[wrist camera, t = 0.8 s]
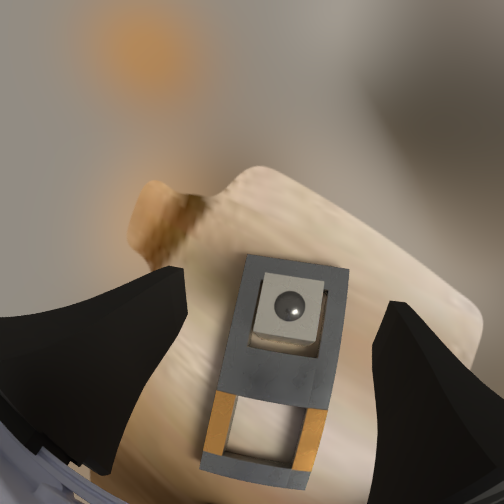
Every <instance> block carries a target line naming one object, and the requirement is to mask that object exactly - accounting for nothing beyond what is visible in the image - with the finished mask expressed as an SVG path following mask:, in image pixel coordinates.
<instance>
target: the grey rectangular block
mask: <svg viewBox="0 0 504 504" xmlns="http://www.w3.org/2000/svg"><path fill="white" fill-rule="evenodd" d="M323 289H324V281H319V280H312V279H305V278H298V277H292V276H285V275H279V274H272V273H266V272H265V276H264V281H263V285H262V290H261V295H260V300H259V305H258V310H257V314H256V319H255V324H254V329H253V332H254V333H255V334H256V335H258V336H259V337H260V338H261V339H262V340H268V341H273V342H279V343H285V344H291V345H297V346H304V347H308V346H310V345H311V344H313V343H314V342H315V341H316V335H317V329H318V323H319V317H320V310H321V303H322V296H323Z"/></svg>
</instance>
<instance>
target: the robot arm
mask: <svg viewBox="0 0 504 504" xmlns="http://www.w3.org/2000/svg"><path fill="white" fill-rule="evenodd" d="M187 315H188V310H187V301H186V291H185V281H184V269H183V268H178V267H173V266H166V267H163V268H161V269H158V270H156V271H153V272H151V273H149V274H146V275H144V276H142V277H140V278H138V279H135V280H133V281H131V282H129V283H127V284H124V285H122V286H120V287H117V288H115V289H113V290H110V291H108V292H105V293H103V294H101V295H98V296H96V297H93V298H91V299H88V300H85V301H82V302H79V303H76V304H73V305H70V306H66V307H63V308H59V309H54V310H50V311H46V312H42V313H36V314H31V315H23V316H15V317H0V504H84V503H82V502H80V501H78V500H76V499H75V498H74V493H75V494H77V495H78V496H80V497H81V498H83V499H84V500H86V501H87V502H89V503H90V504H129V503H127V502H125V501H123V500H121V499H119V498H117V497H115V496H114V495H112V494H110V493H108V492H107V491H105V490H103V489H102V488H100V487H98V486H97V485H95V484H93V483H92V482H90V481H89V480H87V479H85V478H84V477H83V476H81V475H80V474H78V473H77V472H75V471H74V470H73V469H71V468H70V467H68V466H67V465H68V464H69V462H70V461H71V462H73V463H74V464H76V465H77V466H78V467H80V466H81V465H82V464H84V465H85V466H87V467H88V468H90V469H91V470H93V471H94V472H96V473H98V474H99V475H101V476H104V475H109V474H111V470H112V466H113V462H114V459H115V456H116V452H117V449H118V446H119V443H120V441H121V438H122V435H123V433H124V430H125V427H126V425H127V423H128V420H129V418H130V416H131V413H132V411H133V409H134V407H135V405H136V402H137V400H138V398H139V396H140V394H141V392H142V390H143V388H144V386H145V385H146V383H147V381H148V380H149V378H150V377H151V375H152V374H153V372H154V371H155V369H156V368H157V366H158V365H159V363H160V362H161V360H162V359H163V357H164V356H165V354H166V353H167V351H168V350H169V348H170V346H171V345H172V343H173V342H174V340H175V339H176V337H177V336H178V334H179V332H180V330H181V328H182V326H183V323H184V321H185V319H186V317H187ZM372 372H373V381H374V391H375V400H376V411H377V427H378V436H377V449H376V459H375V466H374V473H373V480H372V485H371V489H370V494H369V498H368V502H367V504H504V399H503V398H501V397H500V396H499V395H497V394H496V393H495V392H494V391H492V390H491V389H490V388H489V387H487V386H486V385H485V384H483V382H481V381H480V380H479V379H478V378H477V377H476V376H475V375H474V374H473V373H472V372H471V371H470V370H469V369H467V368H466V367H465V366H464V365H463V364H462V363H461V362H460V360H459V359H458V358H457V357H456V356H455V355H454V354H453V353H452V352H451V351H450V350H449V349H448V348H447V347H446V346H445V345H444V343H443V342H442V341H441V340H440V339H439V338H438V337H437V336H436V334H435V333H434V332H433V331H432V330H431V329H430V328H429V327H428V325H427V324H426V323H425V322H424V321H423V320H422V319H421V318H420V316H419V315H418V314H417V313H416V312H415V311H414V310H413V309H412V308H411V307H410V306H409V305H408V304H407V303H406V302H398V301H389V304H388V307H387V310H386V312H385V315H384V317H383V320H382V323H381V325H380V328H379V330H378V332H377V335H376V337H375V340H374V342H373V344H372ZM73 492H74V493H73Z"/></svg>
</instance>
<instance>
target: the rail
mask: <svg viewBox="0 0 504 504" xmlns="http://www.w3.org/2000/svg"><path fill="white" fill-rule="evenodd" d="M265 272H266V273H272V274H279V275H285V276H292V277H298V278H305V279H312V280H319V281H324V289H323V293H325V294H326V301H325V308H324V315H323V321H322V328H321V334H320V340H319V346H318V351H317V357H316V358H310V357H303V356H297V355H290V354H284V353H278V352H273V351H267V350H262V349H257V348H251V347H249V345H250V340H251V336H252V331H253V326H254V322H255V317H256V312H257V307H258V303H259V298H260V293H261V288H262V284H263V281H264V276H265ZM348 280H349V269H345V268H338V267H331V266H324V265H318V264H311V263H304V262H297V261H290V260H284V259H277V258H270V257H263V256H257V255H250V254H247V258H246V263H245V267H244V271H243V276H242V280H241V285H240V289H239V293H238V298H237V302H236V307H235V311H234V315H233V320H232V324H231V329H230V333H229V337H228V342H227V346H226V351H225V355H224V360H223V364H222V369H221V373H220V378H219V382H218V386H217V390H216V394H215V399H214V403H213V408H212V412H211V417H210V421H209V426H208V430H207V435H206V439H205V444H204V448H203V454H202V459H201V463H200V468H199V469H201V470H204V471H207V472H211V473H214V474H218V475H221V476H225V477H229V478H233V479H237V480H242V481H246V482H251V483H256V484H262V485H268V486H274V487H281V488H288V489H297V490H305V488H306V485H307V482H308V479H309V476H310V473H311V471H312V467H313V464H314V461H315V457H316V454H317V451H318V447H319V443H320V440H321V436H322V432H323V428H324V424H325V420H326V416H327V412H328V406H329V402H330V397H331V393H332V388H333V383H334V378H335V373H336V367H337V362H338V356H339V350H340V344H341V337H342V331H343V324H344V316H345V308H346V300H347V290H348ZM238 396H243V397H247V398H252V399H257V400H262V401H267V402H273V403H278V404H284V405H290V406H297V407H304V408H306V410H305V414H304V418H303V422H302V426H301V430H300V434H299V438H298V442H297V446H296V449H295V453H294V456H293V460H292V463H291V464H289V463H282V462H275V461H269V460H264V459H259V458H254V457H249V456H244V455H240V454H235V453H231V452H227V451H226V447H227V443H228V439H229V434H230V430H231V426H232V421H233V417H234V413H235V408H236V404H237V399H238Z"/></svg>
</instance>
